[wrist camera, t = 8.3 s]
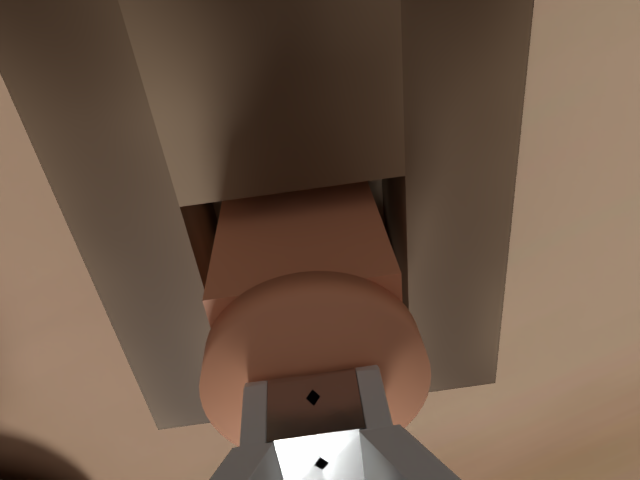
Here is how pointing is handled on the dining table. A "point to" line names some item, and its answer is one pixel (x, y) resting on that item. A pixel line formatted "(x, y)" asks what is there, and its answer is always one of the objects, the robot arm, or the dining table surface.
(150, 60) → the walnut block
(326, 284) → the terracotta plunger
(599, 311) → the dining table surface
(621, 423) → the dining table surface
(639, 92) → the dining table surface
